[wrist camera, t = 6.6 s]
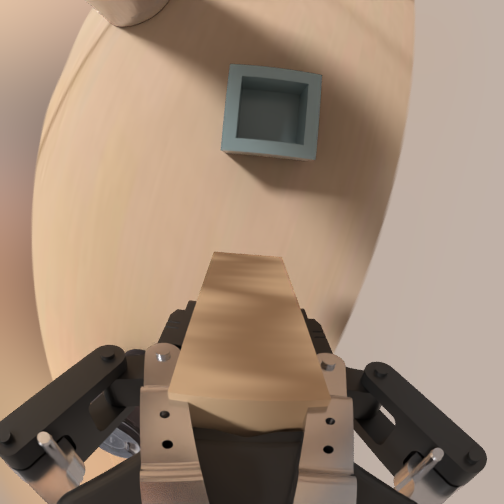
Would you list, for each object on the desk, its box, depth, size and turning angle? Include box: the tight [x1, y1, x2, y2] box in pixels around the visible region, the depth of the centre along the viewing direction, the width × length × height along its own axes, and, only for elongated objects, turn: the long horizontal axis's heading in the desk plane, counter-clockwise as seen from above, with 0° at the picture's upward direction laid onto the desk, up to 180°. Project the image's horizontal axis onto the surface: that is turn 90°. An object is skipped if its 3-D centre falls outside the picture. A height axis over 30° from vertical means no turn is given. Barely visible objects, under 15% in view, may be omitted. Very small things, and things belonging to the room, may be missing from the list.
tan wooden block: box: [168, 252, 331, 437], centre depth 12 cm, size 4×4×11 cm
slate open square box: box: [221, 64, 322, 161], centre depth 25 cm, size 8×8×6 cm
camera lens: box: [91, 349, 146, 458], centre depth 29 cm, size 8×8×15 cm
